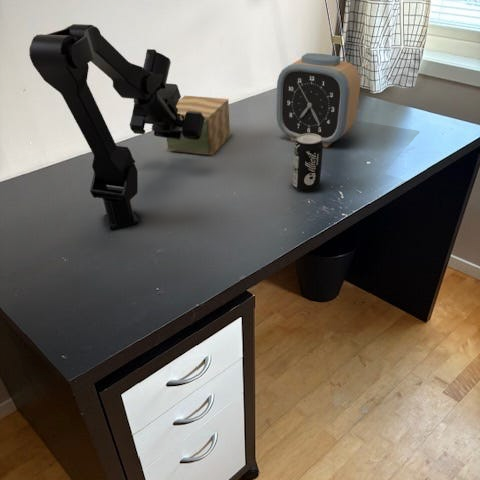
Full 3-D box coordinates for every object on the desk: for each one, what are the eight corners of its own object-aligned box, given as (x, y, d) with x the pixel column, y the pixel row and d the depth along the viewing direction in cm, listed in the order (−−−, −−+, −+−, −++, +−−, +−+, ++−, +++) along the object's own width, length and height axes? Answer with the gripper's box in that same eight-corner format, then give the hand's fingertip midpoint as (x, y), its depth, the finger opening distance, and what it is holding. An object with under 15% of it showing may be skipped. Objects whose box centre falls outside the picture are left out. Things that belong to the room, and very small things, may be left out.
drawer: (201, 160, 128) (198, 127, 122) (160, 155, 132) (155, 123, 126) (225, 135, 141) (223, 104, 135) (187, 131, 144) (184, 101, 138)
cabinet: (212, 155, 133) (209, 116, 126) (168, 150, 136) (163, 112, 129) (230, 135, 143) (228, 98, 136) (188, 131, 147) (185, 95, 139)
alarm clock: (275, 138, 140) (276, 57, 126) (290, 127, 146) (292, 48, 132) (340, 151, 132) (349, 65, 117) (353, 139, 138) (363, 56, 123)
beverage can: (324, 185, 117) (329, 137, 109) (308, 195, 113) (312, 146, 105) (303, 178, 120) (306, 130, 112) (287, 187, 117) (288, 138, 109)
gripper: (198, 77, 109) (218, 111, 124) (126, 72, 114) (154, 106, 129) (187, 123, 109) (209, 152, 124) (116, 117, 114) (145, 145, 129)
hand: (179, 138), depth 127 cm, fingers closed, pressing on drawer
